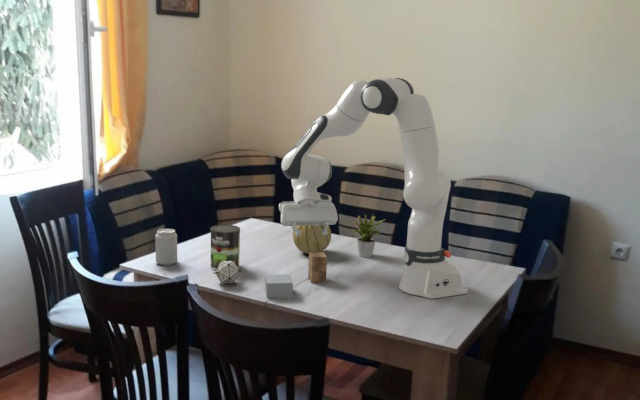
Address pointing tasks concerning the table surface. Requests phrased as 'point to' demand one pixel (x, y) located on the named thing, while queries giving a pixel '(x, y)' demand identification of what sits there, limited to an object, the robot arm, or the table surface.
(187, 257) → the table surface
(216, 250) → the coffee can
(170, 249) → the can
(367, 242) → the house plant
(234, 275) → the game die
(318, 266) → the walnut block
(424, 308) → the table surface
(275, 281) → the base block
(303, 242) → the cantaloupe
